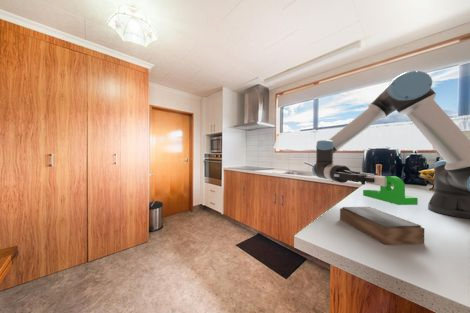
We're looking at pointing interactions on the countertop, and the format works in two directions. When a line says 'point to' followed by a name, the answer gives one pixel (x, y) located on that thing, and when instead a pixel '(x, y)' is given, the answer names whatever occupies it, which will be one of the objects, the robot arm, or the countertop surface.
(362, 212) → the stand
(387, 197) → the mechanical part
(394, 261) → the countertop surface
